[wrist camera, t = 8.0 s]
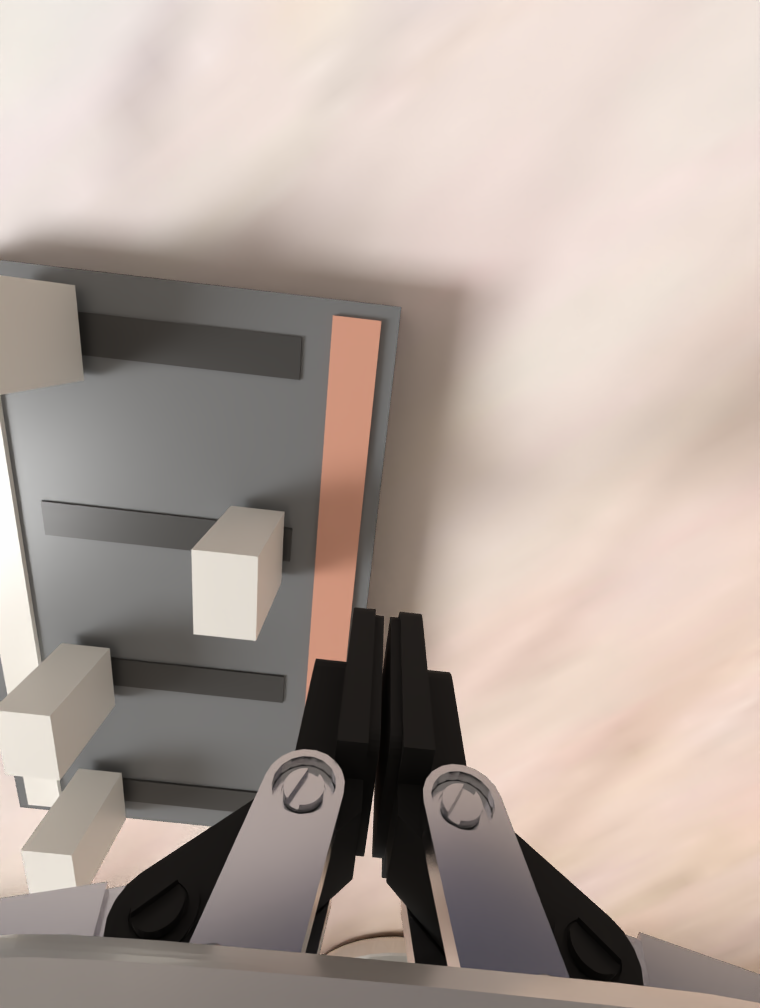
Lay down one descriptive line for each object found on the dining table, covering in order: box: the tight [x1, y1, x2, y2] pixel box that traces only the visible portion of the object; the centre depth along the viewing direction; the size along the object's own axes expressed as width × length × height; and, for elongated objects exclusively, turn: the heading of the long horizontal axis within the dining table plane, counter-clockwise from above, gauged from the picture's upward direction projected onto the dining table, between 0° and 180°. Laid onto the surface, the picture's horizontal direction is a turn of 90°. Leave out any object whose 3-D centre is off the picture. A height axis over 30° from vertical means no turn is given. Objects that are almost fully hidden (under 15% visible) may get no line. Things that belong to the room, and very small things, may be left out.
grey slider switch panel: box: [0, 260, 401, 894], centre depth 19 cm, size 16×25×7 cm, turn 174°
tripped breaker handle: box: [191, 506, 284, 641], centre depth 17 cm, size 2×3×4 cm, turn 174°
